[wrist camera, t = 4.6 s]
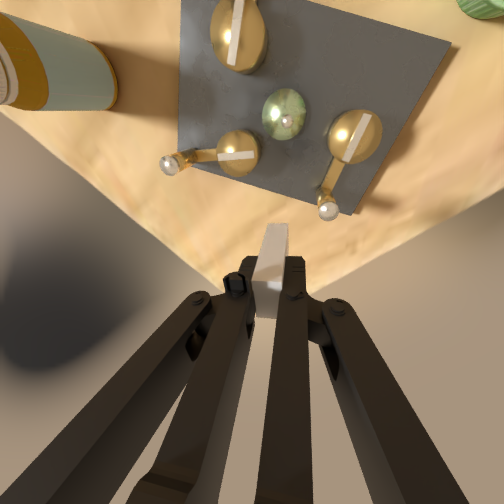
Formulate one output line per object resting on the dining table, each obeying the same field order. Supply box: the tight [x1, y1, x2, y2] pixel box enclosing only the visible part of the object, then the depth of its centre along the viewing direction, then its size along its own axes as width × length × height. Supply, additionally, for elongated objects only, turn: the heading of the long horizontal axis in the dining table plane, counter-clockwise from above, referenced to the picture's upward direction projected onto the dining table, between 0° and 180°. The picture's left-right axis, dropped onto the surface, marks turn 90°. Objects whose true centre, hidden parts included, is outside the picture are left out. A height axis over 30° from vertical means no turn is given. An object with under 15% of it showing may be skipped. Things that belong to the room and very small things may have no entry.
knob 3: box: [316, 110, 383, 221], centre depth 23 cm, size 10×5×7 cm, turn 166°
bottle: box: [0, 12, 118, 111], centre depth 21 cm, size 7×7×15 cm
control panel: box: [178, 0, 452, 216], centre depth 25 cm, size 26×18×2 cm
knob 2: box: [160, 129, 261, 177], centre depth 25 cm, size 10×5×7 cm, turn 96°
